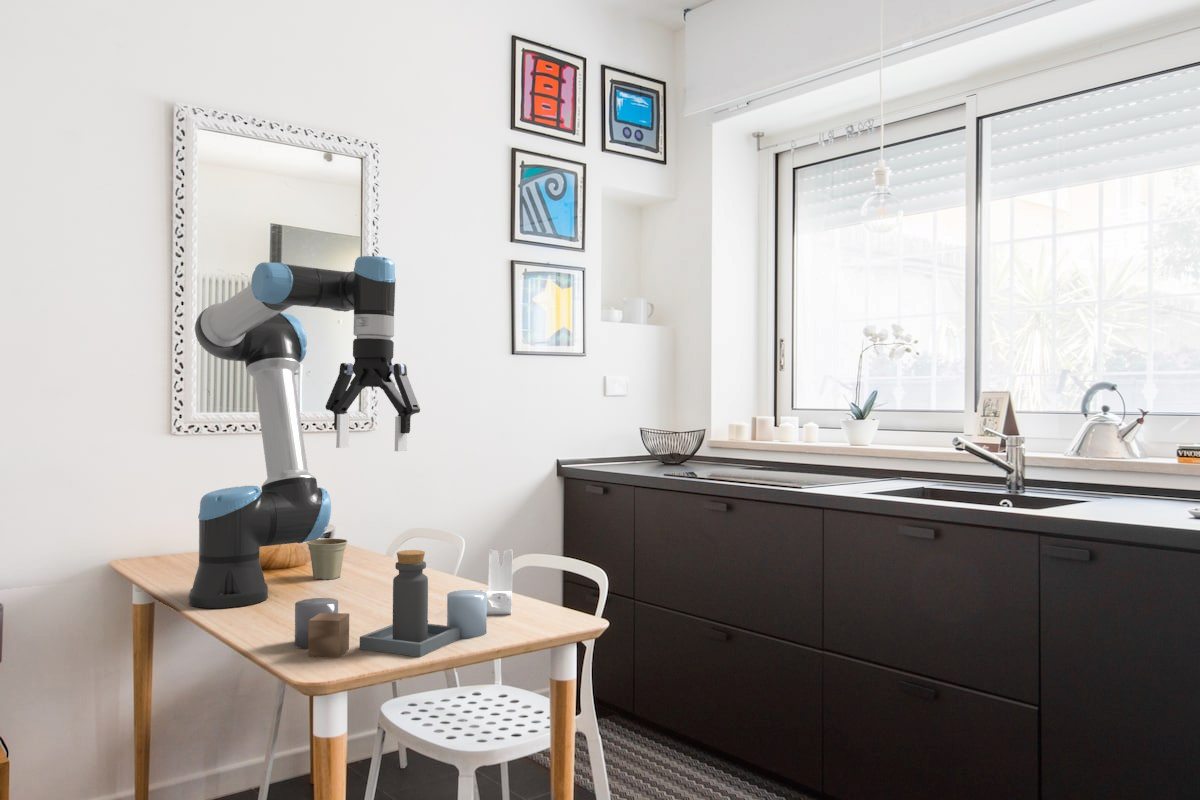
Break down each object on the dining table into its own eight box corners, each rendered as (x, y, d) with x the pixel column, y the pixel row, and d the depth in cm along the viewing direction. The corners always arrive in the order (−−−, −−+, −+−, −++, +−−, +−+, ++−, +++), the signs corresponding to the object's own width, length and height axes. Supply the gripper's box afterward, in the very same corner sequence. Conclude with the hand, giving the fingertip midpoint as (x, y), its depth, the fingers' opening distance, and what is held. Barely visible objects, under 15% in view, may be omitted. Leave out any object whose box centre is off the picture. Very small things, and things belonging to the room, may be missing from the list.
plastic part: (472, 616, 167) (472, 557, 167) (476, 604, 177) (476, 548, 177) (511, 616, 167) (511, 556, 167) (512, 604, 177) (512, 547, 177)
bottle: (410, 646, 143) (411, 556, 143) (385, 641, 146) (386, 552, 146) (434, 638, 148) (435, 551, 148) (409, 633, 151) (410, 548, 151)
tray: (359, 648, 143) (359, 636, 143) (402, 631, 154) (402, 620, 154) (420, 656, 139) (420, 644, 139) (459, 638, 150) (459, 627, 150)
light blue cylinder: (439, 635, 152) (439, 596, 152) (460, 626, 159) (460, 588, 159) (473, 639, 149) (473, 599, 149) (493, 630, 156) (493, 591, 156)
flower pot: (356, 576, 206) (356, 540, 206) (324, 583, 198) (324, 545, 198) (329, 572, 211) (330, 537, 211) (297, 578, 203) (298, 542, 203)
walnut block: (308, 657, 138) (308, 620, 138) (319, 649, 143) (319, 613, 143) (339, 658, 138) (339, 620, 138) (349, 649, 143) (349, 613, 143)
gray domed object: (285, 646, 145) (286, 604, 145) (314, 636, 151) (314, 596, 151) (318, 650, 142) (319, 608, 142) (346, 640, 149) (346, 600, 149)
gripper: (308, 337, 166) (305, 447, 166) (416, 336, 156) (414, 453, 156) (334, 339, 173) (332, 445, 173) (439, 339, 163) (437, 451, 163)
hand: (371, 449), depth 164 cm, fingers open, 13 cm apart
